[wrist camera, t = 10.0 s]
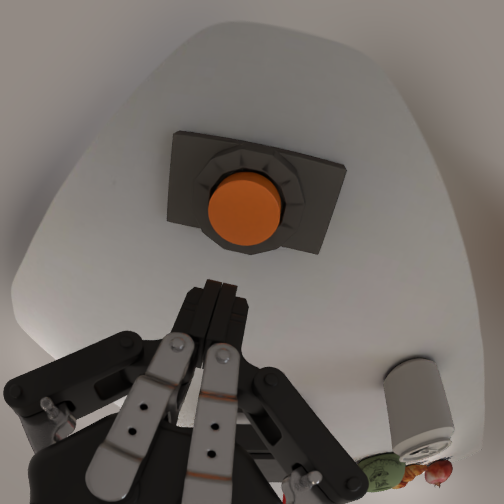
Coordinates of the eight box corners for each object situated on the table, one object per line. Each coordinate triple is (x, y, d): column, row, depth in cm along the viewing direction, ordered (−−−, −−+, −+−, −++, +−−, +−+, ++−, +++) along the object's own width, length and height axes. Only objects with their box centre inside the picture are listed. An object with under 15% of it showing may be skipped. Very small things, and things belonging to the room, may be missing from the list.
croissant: (363, 471, 68) (367, 490, 63) (355, 480, 60) (358, 501, 56) (427, 453, 59) (430, 474, 55) (425, 462, 52) (428, 485, 47)
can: (404, 350, 29) (424, 443, 19) (446, 357, 29) (469, 437, 19) (371, 384, 33) (380, 467, 23) (413, 389, 33) (426, 462, 23)
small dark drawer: (196, 383, 35) (181, 434, 28) (282, 379, 32) (278, 438, 26) (238, 434, 44) (232, 473, 37) (304, 432, 41) (302, 474, 34)
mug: (399, 446, 47) (402, 480, 40) (408, 456, 52) (411, 484, 45) (334, 463, 53) (334, 494, 46) (352, 471, 58) (352, 498, 51)
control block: (171, 216, 23) (157, 234, 21) (179, 128, 19) (163, 136, 17) (316, 248, 23) (319, 270, 21) (344, 163, 19) (353, 176, 17)
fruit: (450, 459, 58) (454, 483, 50) (424, 468, 62) (427, 493, 53) (451, 454, 54) (455, 481, 46) (422, 464, 58) (425, 491, 50)
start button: (210, 225, 20) (204, 237, 19) (219, 165, 18) (212, 173, 16) (272, 238, 20) (271, 252, 19) (287, 179, 18) (287, 189, 16)
